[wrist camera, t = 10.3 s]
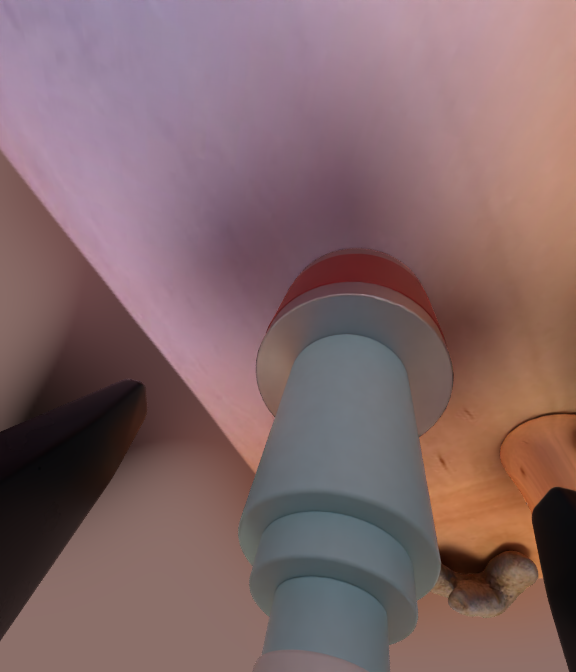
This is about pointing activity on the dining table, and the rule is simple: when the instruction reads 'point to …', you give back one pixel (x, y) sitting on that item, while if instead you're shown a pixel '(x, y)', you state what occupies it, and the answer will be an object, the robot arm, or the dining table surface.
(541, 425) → the beer glass
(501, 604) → the rock
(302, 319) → the tin
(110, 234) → the dining table surface
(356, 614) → the aqua bottle
